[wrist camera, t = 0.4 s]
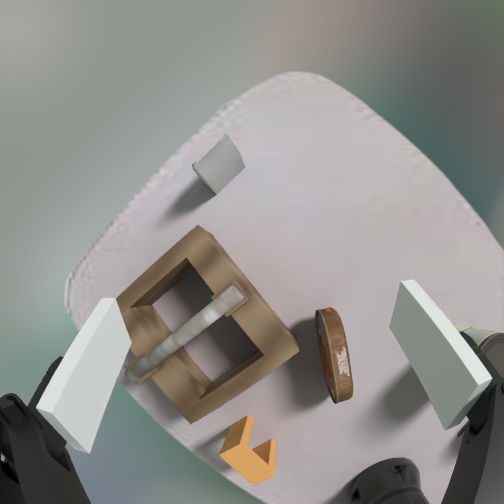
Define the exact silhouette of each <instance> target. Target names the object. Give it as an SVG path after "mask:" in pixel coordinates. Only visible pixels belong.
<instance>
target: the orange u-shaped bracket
mask: <svg viewBox="0 0 504 504" xmlns="http://www.w3.org/2000/svg"><path fill="white" fill-rule="evenodd" d="M252 425H253V420H252V419H251V418H250V417H249V416H246V417H245V418H243V419H241V420H240V421H238V422H236V423H235V424H233V425H231V426H230V429H229V431H228V434H227V436H226V439H225V441H224V444H223V446H222V449H221V451H220V453H219V456H220V457H222V458H223V459H224V460H225V461H226V462H227V463H228V464H229V465H230V466H231V467H232V468H233V469H234V470H236V471H237V472H238V473H239V474H240V475H241V476H242V477H244V478H245V479H246V480H247V481H248V482H249V483H251V484H252V485H253V486H254V485H256V484H258V483H260V482H262V481H264V480H267V479H269V478H271V477H273V476H274V471H275V457H276V443H275V442H274V441H273V440H272V439H271V440H269V441H267V442H265V443H264V444H262V445H260V446H258V447H257V448H255V449H254V450H252V449H251V448H250V447H249V446H248V442H249V438H250V434H251V430H252Z"/></svg>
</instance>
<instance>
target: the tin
mask: <svg viewBox="0 0 504 504" xmlns="http://www.w3.org/2000/svg"><path fill="white" fill-rule="evenodd" d="M315 321H316V328H317V335H318V340H319V345H320V351H321V357H322V362H323V368H324V374H325V378H326V383H327V387H328V390H329V393H330V396H331V398H332V400H333V402H334V403H335V404H337V403H338V402H342V401H345V400H348V399H350V398H351V397H352V395H353V381H352V373H351V366H350V359H349V353H348V347H347V341H346V336H345V331H344V327H343V324H342V321H341V319H340V316H339V314H338V313H337V311H336V310H334V309H333V308H326V309H322V310H316V314H315Z"/></svg>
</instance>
